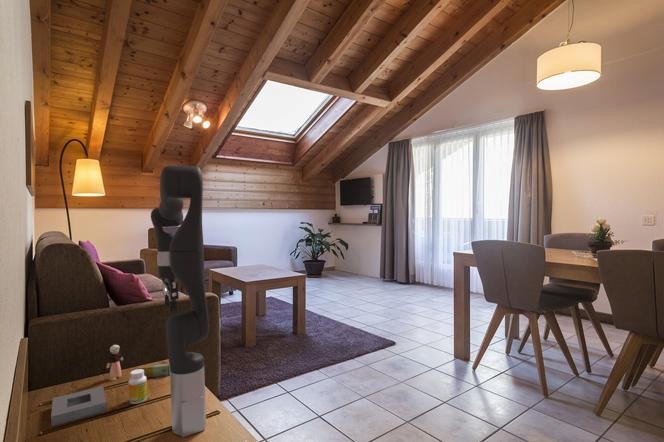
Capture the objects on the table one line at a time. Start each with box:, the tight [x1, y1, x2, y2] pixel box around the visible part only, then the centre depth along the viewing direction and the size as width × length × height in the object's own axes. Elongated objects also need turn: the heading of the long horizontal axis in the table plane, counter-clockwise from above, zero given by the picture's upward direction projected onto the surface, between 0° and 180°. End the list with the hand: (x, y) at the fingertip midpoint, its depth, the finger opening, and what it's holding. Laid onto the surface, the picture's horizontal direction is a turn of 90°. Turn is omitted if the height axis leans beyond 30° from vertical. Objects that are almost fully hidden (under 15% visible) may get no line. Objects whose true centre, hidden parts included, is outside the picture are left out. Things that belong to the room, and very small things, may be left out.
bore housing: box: [50, 385, 108, 428], centre depth 121 cm, size 14×14×3 cm
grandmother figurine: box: [106, 344, 124, 382], centre depth 145 cm, size 8×4×13 cm, turn 179°
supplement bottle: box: [128, 368, 148, 405], centre depth 126 cm, size 5×5×10 cm
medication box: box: [136, 363, 170, 378], centre depth 146 cm, size 12×3×4 cm, turn 96°
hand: (170, 308), depth 135 cm, fingers open, 8 cm apart
